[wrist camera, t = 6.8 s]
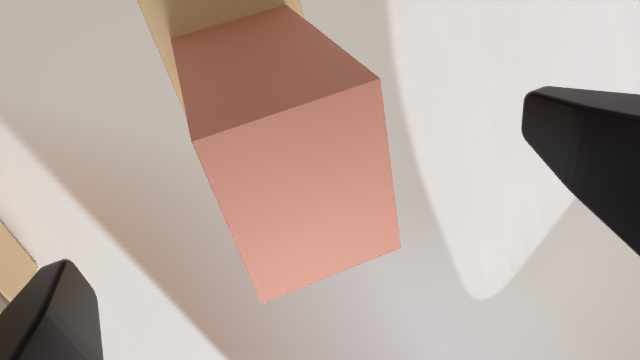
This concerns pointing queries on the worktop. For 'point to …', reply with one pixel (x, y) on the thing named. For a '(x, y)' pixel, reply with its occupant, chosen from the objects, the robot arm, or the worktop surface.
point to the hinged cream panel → (13, 267)
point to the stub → (281, 136)
